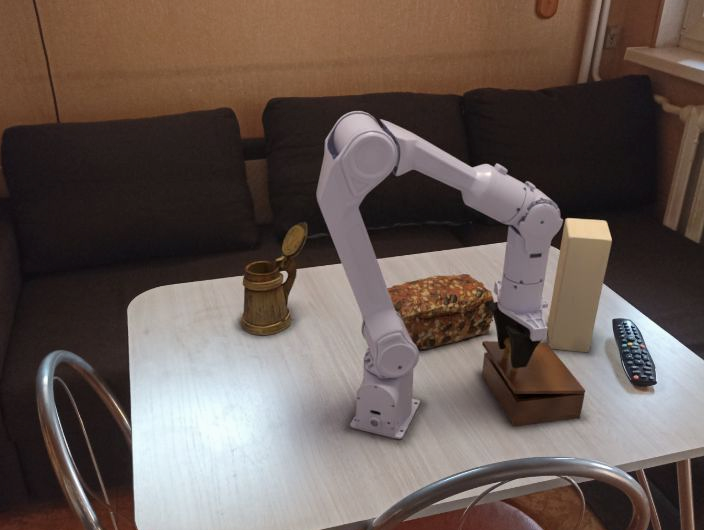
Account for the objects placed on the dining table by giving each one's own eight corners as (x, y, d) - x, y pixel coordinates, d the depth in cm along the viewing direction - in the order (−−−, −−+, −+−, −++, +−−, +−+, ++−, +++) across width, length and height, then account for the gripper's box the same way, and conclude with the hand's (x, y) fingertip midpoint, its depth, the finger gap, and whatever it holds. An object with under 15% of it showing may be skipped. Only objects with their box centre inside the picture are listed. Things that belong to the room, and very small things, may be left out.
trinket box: (513, 426, 102) (516, 402, 100) (481, 374, 113) (484, 352, 111) (580, 417, 103) (584, 394, 101) (542, 367, 115) (545, 345, 113)
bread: (399, 358, 118) (400, 306, 113) (372, 328, 126) (373, 279, 121) (493, 335, 124) (499, 285, 119) (462, 308, 132) (466, 260, 127)
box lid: (514, 393, 99) (521, 370, 97) (481, 344, 110) (487, 322, 108) (584, 393, 101) (592, 370, 99) (545, 345, 113) (552, 323, 111)
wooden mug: (321, 321, 129) (318, 230, 120) (252, 340, 123) (244, 246, 114) (300, 300, 136) (296, 213, 126) (234, 318, 130) (225, 228, 121)
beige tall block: (593, 353, 118) (617, 239, 108) (549, 349, 119) (567, 236, 109) (589, 330, 125) (610, 220, 114) (547, 326, 126) (564, 217, 116)
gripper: (574, 296, 92) (559, 381, 98) (529, 251, 104) (518, 329, 111) (523, 301, 90) (511, 387, 97) (484, 255, 103) (476, 334, 110)
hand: (512, 357), depth 104 cm, fingers closed on box lid, 4 cm apart
